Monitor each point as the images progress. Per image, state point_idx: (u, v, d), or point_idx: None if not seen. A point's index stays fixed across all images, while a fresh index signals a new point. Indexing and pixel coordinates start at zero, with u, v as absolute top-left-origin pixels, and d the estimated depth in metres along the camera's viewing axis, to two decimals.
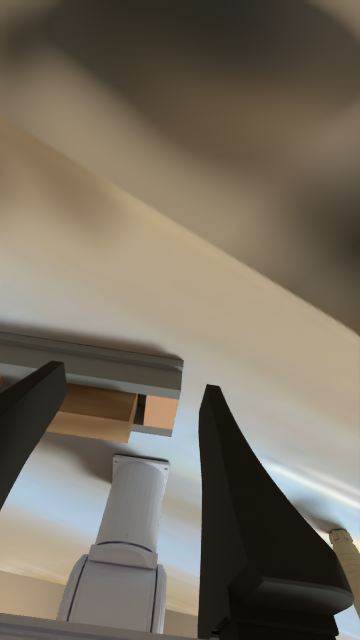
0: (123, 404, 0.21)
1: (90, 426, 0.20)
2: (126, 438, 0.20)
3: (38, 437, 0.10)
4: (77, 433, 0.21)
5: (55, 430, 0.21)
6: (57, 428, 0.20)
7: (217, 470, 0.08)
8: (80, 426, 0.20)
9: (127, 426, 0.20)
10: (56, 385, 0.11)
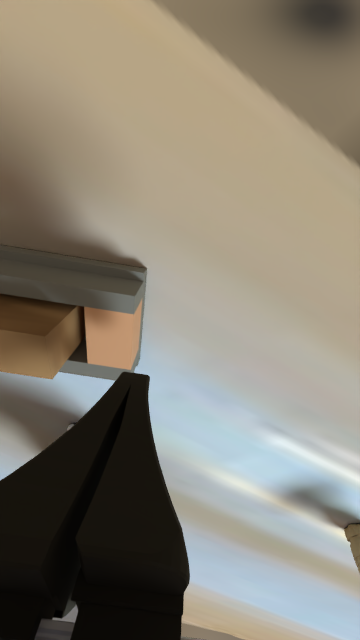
0: (45, 318, 0.13)
1: None
2: (48, 370, 0.13)
3: None
4: None
5: None
6: None
7: None
8: None
9: (45, 346, 0.12)
10: None
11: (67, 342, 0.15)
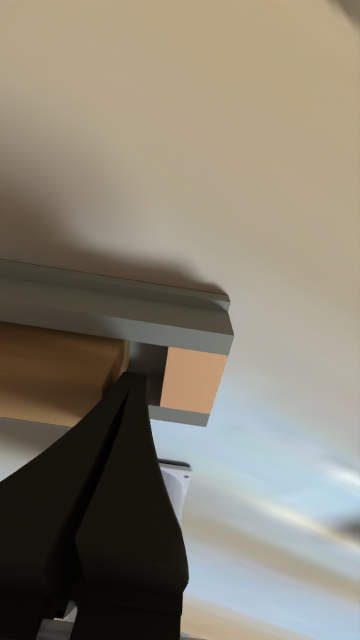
0: (95, 357, 0.11)
1: (27, 397, 0.10)
2: None
3: None
4: (6, 412, 0.11)
5: None
6: None
7: None
8: (9, 398, 0.10)
9: (100, 396, 0.10)
10: None
11: None
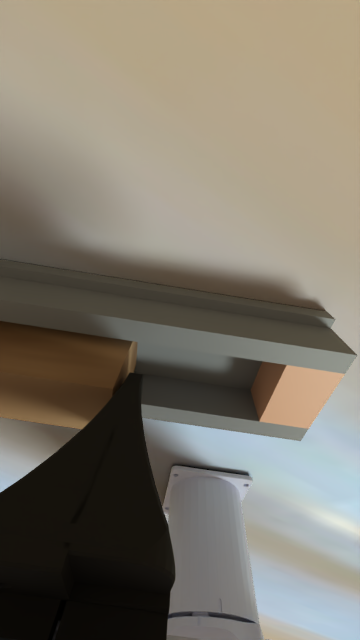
0: (105, 360, 0.11)
1: (37, 399, 0.10)
2: None
3: None
4: (16, 414, 0.11)
5: None
6: None
7: None
8: (19, 400, 0.10)
9: None
10: None
11: None
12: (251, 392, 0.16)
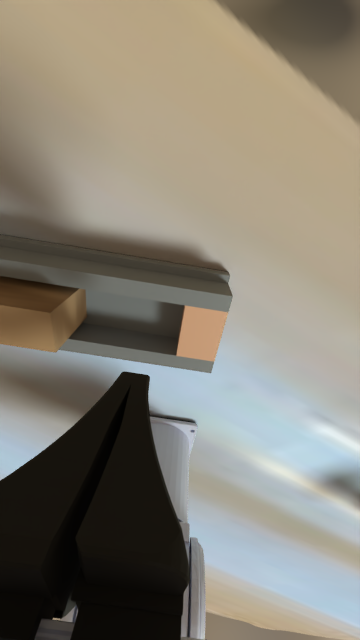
0: (50, 299, 0.15)
1: (0, 323, 0.14)
2: (52, 344, 0.15)
3: None
4: None
5: None
6: None
7: None
8: None
9: (50, 321, 0.14)
10: None
11: (69, 321, 0.16)
12: (178, 339, 0.20)
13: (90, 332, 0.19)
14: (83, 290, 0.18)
